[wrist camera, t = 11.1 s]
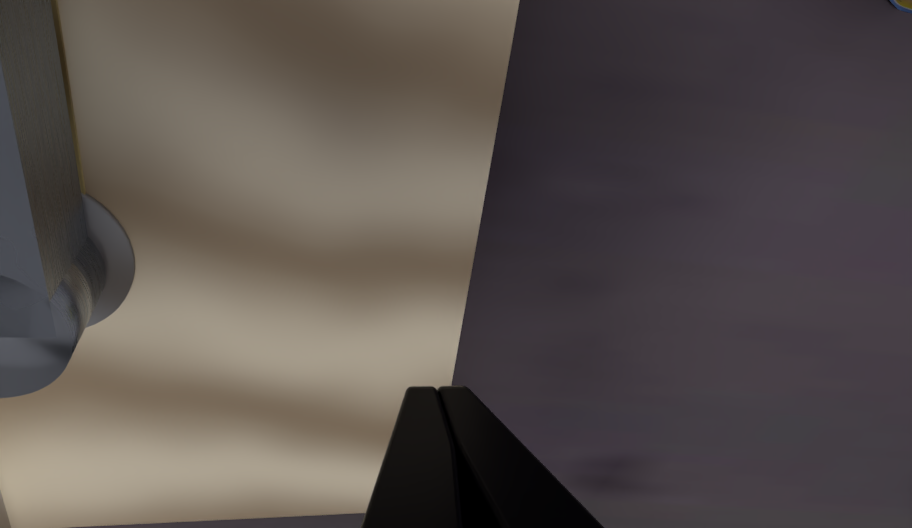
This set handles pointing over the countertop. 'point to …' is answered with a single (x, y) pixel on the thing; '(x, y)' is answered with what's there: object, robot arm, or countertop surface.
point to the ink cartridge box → (903, 5)
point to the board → (258, 251)
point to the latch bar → (39, 209)
